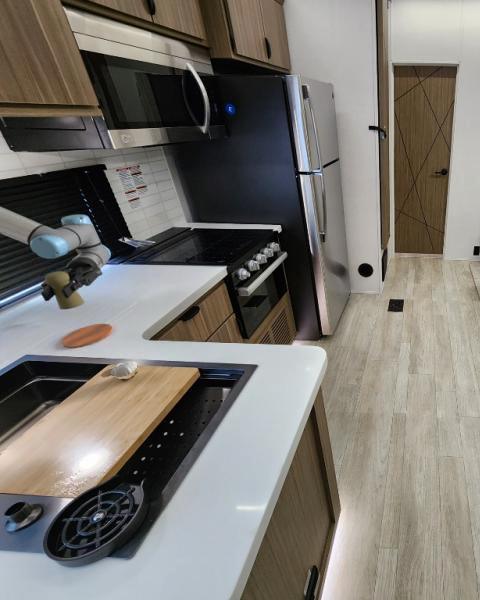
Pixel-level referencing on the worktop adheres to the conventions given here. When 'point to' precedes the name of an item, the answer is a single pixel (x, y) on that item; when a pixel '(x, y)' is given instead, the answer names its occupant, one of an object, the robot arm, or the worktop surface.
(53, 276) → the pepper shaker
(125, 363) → the garlic
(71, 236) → the robot arm
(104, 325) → the coaster
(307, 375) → the worktop surface
